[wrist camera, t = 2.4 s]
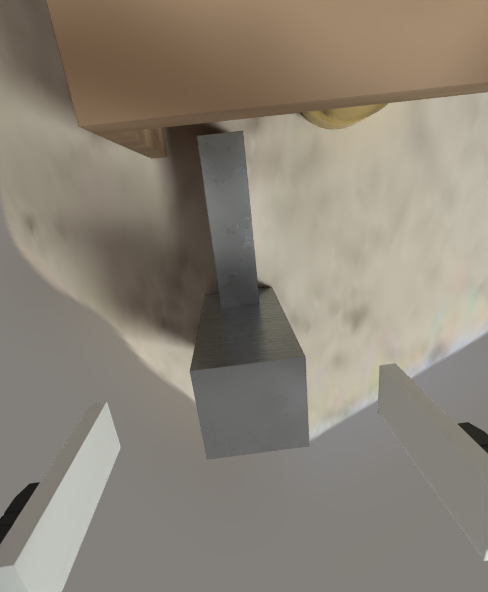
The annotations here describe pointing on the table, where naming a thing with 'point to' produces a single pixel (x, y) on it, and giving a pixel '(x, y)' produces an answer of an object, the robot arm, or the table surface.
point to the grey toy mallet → (243, 327)
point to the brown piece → (258, 59)
